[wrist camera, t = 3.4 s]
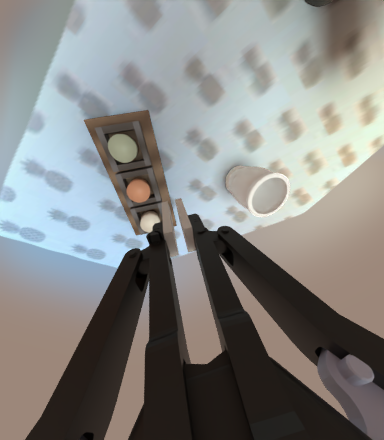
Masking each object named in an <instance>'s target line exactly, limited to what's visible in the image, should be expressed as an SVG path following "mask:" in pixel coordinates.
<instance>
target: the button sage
mask: <svg viewBox="0 0 384 440" xmlns="http://www.w3.org/2000/svg"><path fill="white" fill-rule="evenodd" d="M108 149H109V152H110V154H111V155H112V157H113V158H114V159H116V160H117V161H119V162H122V163H128V162H131V161H132V160H133V159H134V158H135V157H136V156H137V153H138V147H137V144H136V142H135V141H134V139H132V138H131V137H130V136H128V135H125V134H116V135H113V136H112V137H111V138H110V139H109V142H108Z"/></svg>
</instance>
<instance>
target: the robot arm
mask: <svg viewBox="0 0 384 440" xmlns="http://www.w3.org/2000/svg"><path fill="white" fill-rule="evenodd" d="M306 1H307V2H308V3H309V4H311V5H314V6H323V5H326V4H328V3H330V2H331V1H333V0H306ZM175 202H176V206H177V210H178V215H179V219H180V223H181V227H182V230H183V234H184V238H185V242H186V245H187V249H188V252H192V251H197V256H198V260H199V263H200V267H201V271H202V275H203V278H204V282H205V286H206V290H207V293H208V297H209V301H210V305H211V309H212V312H213V316H214V320H215V324H216V328H217V331H218V335H219V339H220V343H221V348H222V353H221V354H219V355H218V356H217V357H216V358H214V359H213V360H212V361H211V362H209V363H208V364H191V362H190V358H189V354H188V350H187V345H186V339H185V334H184V328H183V323H182V317H181V311H180V306H179V300H178V295H177V289H176V284H175V278H174V272H173V268H172V262H171V258H170V256H171V257H173V256H176V255H179V254H178V248H177V242H176V237H175V231H174V226H173V220H172V216H171V212H170V208H169V205H168V201H166V202H162V219H163V222H159V223H155V224H154V225H153V228H152V231H151V232H150V233H148V234H147V236H146V237H147V240H148V242H149V246H148V247H147V248H145V249H143V250H140V249H138V248H135V249H132V250H130V251H128V252H127V253H126V254H125V256H124V257H123V259H122V261H121V263H120V265H119V267H118V269H117V271H116V273H115V275H114V277H113V279H112V281H111V283H110V285H109V287H108V289H107V290H106V292H105V294H104V296H103V298H102V300H101V302H100V304H99V306H98V308H97V310H96V312H95V314H94V315H93V317H92V319H91V321H90V323H89V325H88V327H87V329H86V331H85V333H84V335H83V337H82V339H81V341H80V342H79V344H78V347H77V348H76V350H75V352H74V354H73V356H72V358H71V360H70V362H69V364H68V366H67V368H66V370H65V371H64V374H63V376H62V377H61V379H60V381H59V383H58V385H57V387H56V389H55V391H54V393H53V395H52V397H51V398H50V401H49V402H48V404H47V406H46V408H45V410H44V412H43V414H42V416H41V418H40V419H39V420H38V422H37V423H36V425H35V426H34V428H33V429H32V430H31V432H30V433H29V435H28V436H27V438H26V439H25V440H104V437H105V435H106V432H107V429H108V426H109V424H110V421H111V418H112V414H113V411H114V408H115V405H116V401H117V397H118V394H119V390H120V386H121V383H122V379H123V375H124V372H125V368H126V364H127V360H128V357H129V353H130V349H131V345H132V342H133V338H134V334H135V330H136V327H137V323H138V319H139V315H140V312H141V308H142V304H143V300H144V297H145V293H146V289H147V286H148V282H149V342H148V343H147V345H146V350H145V387H144V389H145V390H144V405H143V407H142V409H141V411H140V413H139V415H138V418H137V420H136V422H135V425H134V427H133V429H132V432H131V434H130V436H129V438H128V440H384V339H383V338H381V337H379V336H378V335H376V334H374V333H372V332H370V331H368V330H367V329H365V328H363V327H361V326H359V325H358V324H356V323H354V322H352V321H350V320H349V319H347V318H345V317H343V316H341V315H339V314H338V313H337V312H336V311H334V310H333V309H332V308H330V307H329V306H328V305H327V304H326V303H324V302H323V301H322V300H320V299H319V298H318V297H317V296H316V295H314V294H313V293H312V292H310V291H309V290H308V289H307V288H306V287H304V286H303V285H302V284H301V283H299V282H298V281H297V280H296V279H294V278H293V277H292V276H291V275H289V274H288V273H287V272H286V271H284V270H283V269H282V268H281V267H280V266H278V265H277V264H276V263H274V262H273V261H272V260H271V259H270V258H268V257H267V256H266V255H265V254H263V253H262V252H261V251H260V250H258V249H257V248H256V247H255V246H253V245H252V244H251V243H250V242H248V241H247V240H246V239H245V238H243V237H242V236H241V235H240V234H238V233H237V232H236V231H235V230H233V229H232V228H231V227H228V226H222V227H220V228H218V230H217V231H209V230H208V229H207V228H205V227H204V225H203V223H202V221H201V219H200V217H199V215H197V214H192V215H187V213H186V210H185V207H184V205H183V202H182V199H181V198H180V199H175ZM219 255H220V256H221V257H222V259H223V260H224V261H225V262H226V263H227V265H228V266H229V267H230V268H231V269H232V270H233V272H234V273H235V274H236V275H237V276H238V278H239V279H240V280H241V281H242V282H243V284H244V285H245V286H246V287H247V289H248V290H249V291H250V292H251V293H252V294H253V296H254V297H255V298H256V299H257V300H258V302H259V303H260V304H261V305H262V306H263V308H264V309H265V310H266V311H267V312H268V314H269V315H270V316H271V317H272V318H273V320H274V321H275V322H276V323H277V324H278V326H279V327H280V328H281V329H282V330H283V331H284V333H285V334H286V335H287V336H288V337H289V339H290V340H291V341H292V342H293V343H294V344H295V345H296V346H297V348H298V349H299V350H300V351H301V352H302V353H303V354H304V355H305V356H306V357H307V358H308V359H309V360H310V361H311V362H313V363H314V364H315V365H316V366H317V368H318V373H319V376H320V378H321V380H322V382H323V384H324V386H325V387H326V388H327V390H328V391H330V393H331V394H332V395H333V396H334V397H335V398H336V399H337V400H338V402H339V403H340V404H341V406H342V408H343V409H344V411H345V413H346V415H347V417H348V419H349V420H348V419H346V418H345V417H344V416H343V415H341V414H340V413H339V412H338V411H336V410H335V409H334V408H333V407H332V406H330V405H329V404H328V403H327V402H325V401H324V400H323V399H322V398H321V397H319V396H318V395H317V394H316V393H314V392H313V391H312V390H311V389H309V388H308V387H307V386H306V385H304V384H303V383H302V382H301V381H300V380H298V379H297V378H296V377H294V376H293V375H292V374H291V373H290V372H288V371H287V370H286V369H285V368H283V367H282V366H281V365H280V364H279V363H277V362H276V361H275V360H273V359H272V358H271V357H269V356H268V354H267V352H266V349H265V347H264V345H263V343H262V341H261V339H260V337H259V334H258V332H257V330H256V328H255V326H254V324H253V322H252V319H251V318H250V316H249V314H248V313H247V312H246V311H244V309H243V307H242V305H241V303H240V300H239V298H238V296H237V294H236V292H235V289H234V287H233V285H232V283H231V280H230V278H229V276H228V274H227V271H226V269H225V267H224V265H223V263H222V260H221V258H220V256H219Z"/></svg>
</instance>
